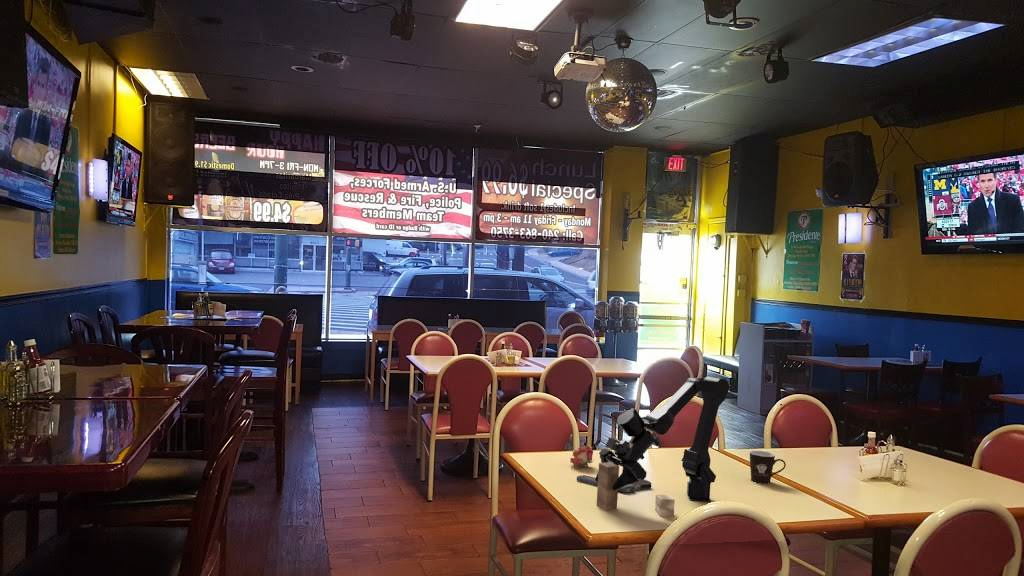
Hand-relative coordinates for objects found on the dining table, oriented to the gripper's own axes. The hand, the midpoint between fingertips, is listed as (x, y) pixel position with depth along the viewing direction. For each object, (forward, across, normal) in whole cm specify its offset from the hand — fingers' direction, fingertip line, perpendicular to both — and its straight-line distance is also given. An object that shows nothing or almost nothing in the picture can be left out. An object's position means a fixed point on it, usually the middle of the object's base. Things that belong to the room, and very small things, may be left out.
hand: (604, 484), depth 219 cm
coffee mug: (-47, -9, +57) cm, 74 cm away
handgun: (-7, -21, +18) cm, 29 cm away
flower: (-8, -44, +18) cm, 49 cm away
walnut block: (+4, 0, +6) cm, 7 cm away
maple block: (-6, +10, +16) cm, 19 cm away
